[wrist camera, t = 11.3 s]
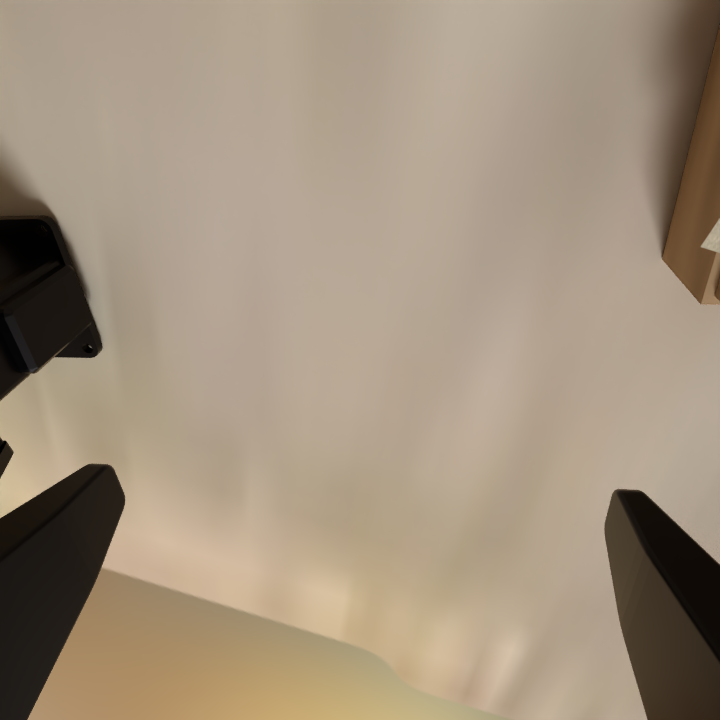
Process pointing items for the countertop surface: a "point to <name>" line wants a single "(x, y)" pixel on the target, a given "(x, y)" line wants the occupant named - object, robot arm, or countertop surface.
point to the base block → (699, 198)
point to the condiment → (713, 239)
